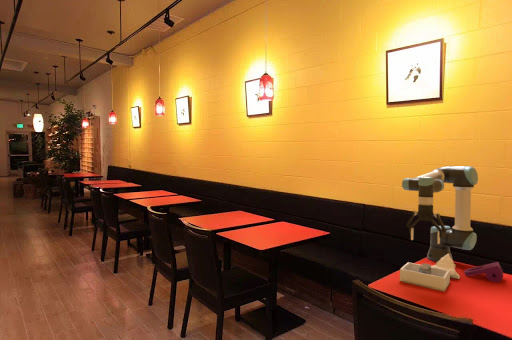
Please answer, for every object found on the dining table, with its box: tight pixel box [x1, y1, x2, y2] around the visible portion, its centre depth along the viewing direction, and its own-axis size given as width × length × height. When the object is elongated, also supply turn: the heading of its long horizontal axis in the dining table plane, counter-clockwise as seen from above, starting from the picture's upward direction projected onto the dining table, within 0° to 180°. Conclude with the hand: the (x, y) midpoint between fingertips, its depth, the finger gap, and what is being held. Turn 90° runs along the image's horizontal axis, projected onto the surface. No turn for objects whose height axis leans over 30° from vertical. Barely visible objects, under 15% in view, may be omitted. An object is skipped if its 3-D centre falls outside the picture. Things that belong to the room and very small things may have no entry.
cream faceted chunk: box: [431, 254, 461, 280], centre depth 194 cm, size 12×15×14 cm
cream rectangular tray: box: [399, 261, 451, 292], centre depth 183 cm, size 16×22×7 cm
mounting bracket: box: [464, 261, 504, 283], centre depth 191 cm, size 9×8×18 cm
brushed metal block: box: [419, 262, 432, 275], centre depth 183 cm, size 10×4×8 cm, turn 141°
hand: (425, 241), depth 185 cm, fingers open, 13 cm apart
